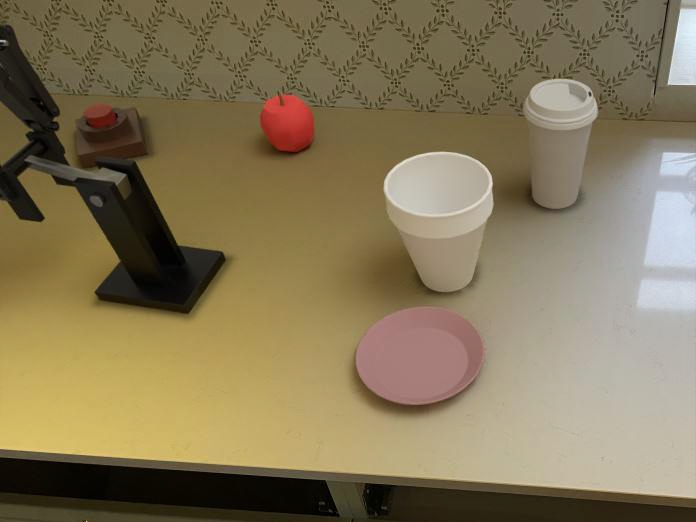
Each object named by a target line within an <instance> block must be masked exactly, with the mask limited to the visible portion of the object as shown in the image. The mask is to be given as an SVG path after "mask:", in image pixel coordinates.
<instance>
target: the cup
mask: <svg viewBox="0 0 696 522" xmlns="http://www.w3.org/2000/svg"><path fill="white" fill-rule="evenodd" d="M493 185H494V182H493V176H492V174H491V172H490V171H489V169H488V168H487V166H485V165H484V164H483V163H481V162H480V160H477V159H476V158H473V157H471V156H469V155H466V154H462V153H458V152H451V151H450V152H449V151H431V152H430V151H429V152H425V153H421V154H416V155H414V156H411V157H408V158H406V159H404V160H402V161H400V162H399V163H397V164H395V166H393V168H392V169H390V171H389V172H388V173H387V174H386V177H385V178H384V180H383V194H384V196H385V198H384V199H385V207H386V213H387V216H388V218H389V220H390V221H391V223H392V224H393V225H394V226H395V227H396V229H397V231H398V233H399V235H400V238H401V239H402V241H403V244H404V246H405V248H406V250H407V252H408V254H409V257H410V259H411V261H412V263H413V266H414V267H415V269H416V272H417V273H418V276H419V278H420V280H421V282H422V283H423V285H424V286H425V287H426V288H428V289H429V290H432V291H434V292H439V293H453V292H456V291H459V290H462V289H464V288H466V287H467V286H468V285H470V283H471V281H472V280H473V277H474V273H475V270H476V266H477V262H478V257H479V254H480V250H481V246H482V242H483V238H484V233H485V230H486V226H487V222H488V218H490V216H491V215H492V212H493V208H494V194H493Z"/></svg>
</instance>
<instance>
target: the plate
mask: <svg viewBox="0 0 696 522" xmlns="http://www.w3.org/2000/svg"><path fill="white" fill-rule="evenodd" d="M485 349H486V348H485V343H484V340H483V337H482V335H481V333H480V331H479V330H478V328H477V327H476V326H475V325H474V324H473V323H472V322H471V321H470V320H469V319H468V318H466V317H465V316H463V315H462V314H460V313H458V312H456V311H453V310H451V309H448V308H443V307H437V306H414V307H408V308H404V309H400V310H397V311H394V312H391V313H389V314H387V315H385V316H383V317H382V318H380V319H379V320H378V321H376V322H375V323H373V325H371V326H370V327H369V328H368V329H367V330H366V332H365V333H364V334H363V336H362V337H361V339H360V341H359V343H358V345H357V348H356V352H355V367H356V371H357V374H358V376H359V378H360V380H361V382H362V383H363V385H365V386H366V387H367V389H368V390H370V391H371V392H372V393H374V394H375V395H376V396H378V397H380V398H382V399H384V400H387V401H389V402H393V403H395V404H396V403H397V404H401V405H410V406H419V405H421V406H422V405H430V404H435V403H438V402H441V401H444V400H447V399H449V398H451V397H454V396H455V395H457V394H459V393H460V392H461V391H462V392H463V390H464V389H466V388H467V387H468V386H469V385H471V383H472V382H473V381H474V380H475V379H476V377H477V376H478V375H479V372H480V371H481V369H482V367H483V364H484V361H485V353H486V352H485Z"/></svg>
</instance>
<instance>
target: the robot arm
mask: <svg viewBox="0 0 696 522" xmlns="http://www.w3.org/2000/svg"><path fill="white" fill-rule="evenodd" d="M0 103H2V104H3V105H4V106H5V107H6V108H7V109H8V110H9V111H10V112H11V113H12V114H13V115H14V116H15V117H16V118H17V119H18V120H20V122H21V123H23V125H25V126H26V127H27V128H28V129H30V130H29V131H27V132H26V133H25V134H24V135H25V137H26V138H27V140H28V143H29V142H30V141H31V140H32V139H34V138H37V139H40V140H41V141H43V142H44V143H45V144H46V145H47V148H48V150H47V152H45V153H44V154H43V155H42V156H41V157H40V158H43V159H46V160H50V161H53V162H57V163H60V164H64V165H67V166H71V164H70V163H69V161H68V160H67V158H66V157H65V155H66V150H65V147H64V145H63V144H62V142H61V141H60V138H59V137H58V135H57V133H56V132H58V131H59V130H60V123H59V122H58V121H55V120H54V119H55V118H58V117H60V115H61V109H60V108H59V106H58V104H57V103H56V101H55V100H54V98H53V96H52V95H51V93H50V92H49V90H48V89H47V88H46V86H45V85H44V83H43V81H42V80H41V78H40V77H39V75H38V73H37V72H36V70H35V69H34V67H33V66H32V65H31V63H30V61H29V59H28V58H27V56H26V55H25V53H24V51H22V49H21V47H20V43H19V42H18V38H17V34H16V32H15V30H14V28H13V26H12V25H10V24H6V23H0ZM31 130H32V131H31ZM1 165H2V164H1V163H0V201H3V202H6V203H7V204H8V205H9V207H10V208H11V209H12V211H13V212H14V213H15V215H16V217H17V218H18V219H19V220H20V221H21V220H22V221H28V222H37V223H42V222H43V221H44V220H45V219H46V217H45V215H44V214H43V213H42V211H41V210H40V208H39V207H38V205H37V204H36V203H35V201H34V199H33V198H32V197H31V196H30V195H31V194H29V193H28V191H27V190H26V188H25V186H24V185H23V183H21V181H20V179H19V177H16V175H15V174H14V172H13V171H12V169H11V168H7V167H1ZM50 176H51V178H52V179H53V181H54V182H55V184H56V185H57V186H65V187H73V188H76V187H75V186H74V184H73V181H72V180H68V179H65V178H61V177H58V176H54V175H51V174H50Z"/></svg>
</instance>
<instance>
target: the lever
mask: <svg viewBox="0 0 696 522" xmlns="http://www.w3.org/2000/svg"><path fill="white" fill-rule="evenodd" d="M47 150H48V148H47V145H46V144H45V143H44V142H43V141H41V140H40V139H37V138H34V139H32V140H31V141H30V142H29V141H28V142H27V143H26V144H25V145H23V146H22V147H21V148H20V149H19V150H18V151H16V152H15V153H14V154H13V155H12V156H10V157H9V158H8V159H7V160H6V161H5V162H3V164H1V167H7V168H11V169H12V171H13V172H14V174H15V175H16V177H17V178H19V177H20V176H21V175H22V174H23V173H24V172H25V171H26V170H28V169H30V170H34V171H37V172H41V173H44V174H47V175H50V176H51V175H54V176H58V177H61V178H65V179H68V180H72V181H74V180H75V179H76V178H77V177H81V178H88V179H96V180H104V181H112V182H115V184H116V185H117V187H118V189H119V191H120V193H121V194H122V196H123V198H124V200H125V199H126V198H127V197H128V196H129V195H130V194H131V193H132V189H131V186H130V182H129V179H128V176H127V174H124V173H120V172H117V171H113V170H110V169H106V168H103V167H102V168H101V169H100V170H99V169H98V171H97V172H96V173H95V172H92V171H88V170H84V169H80V168H77V167H74V166H71V165H70V166H67V165H64V164H60V163H57V162H53V161H50V160H46V159H43V158H40V157H41V156H42V155H43V154H44V153H45V152H47Z"/></svg>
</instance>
